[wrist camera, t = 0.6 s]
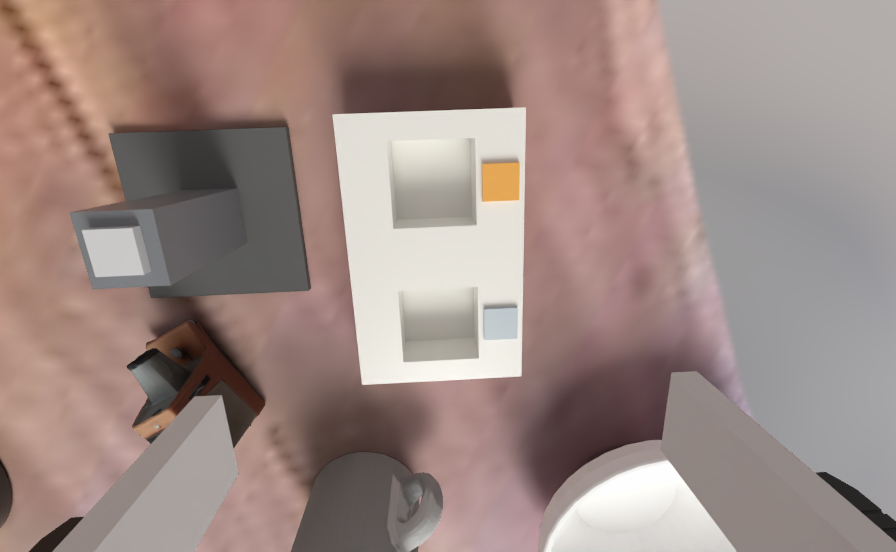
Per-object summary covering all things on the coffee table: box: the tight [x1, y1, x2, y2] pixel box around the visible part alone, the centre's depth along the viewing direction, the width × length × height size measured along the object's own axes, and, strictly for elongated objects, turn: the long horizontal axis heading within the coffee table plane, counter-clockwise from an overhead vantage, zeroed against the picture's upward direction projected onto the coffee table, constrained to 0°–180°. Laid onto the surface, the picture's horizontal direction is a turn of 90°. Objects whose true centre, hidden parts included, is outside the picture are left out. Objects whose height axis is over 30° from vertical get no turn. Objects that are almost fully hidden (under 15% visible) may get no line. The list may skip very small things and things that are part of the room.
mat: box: [109, 127, 311, 298], centre depth 32 cm, size 12×12×1 cm
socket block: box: [333, 107, 526, 385], centre depth 31 cm, size 12×19×4 cm, turn 2°
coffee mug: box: [291, 452, 443, 552], centre depth 35 cm, size 13×10×10 cm
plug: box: [70, 188, 247, 289], centre depth 26 cm, size 4×4×11 cm
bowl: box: [539, 440, 737, 552], centre depth 38 cm, size 20×20×7 cm
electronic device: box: [127, 320, 265, 449], centre depth 32 cm, size 4×10×8 cm, turn 29°
